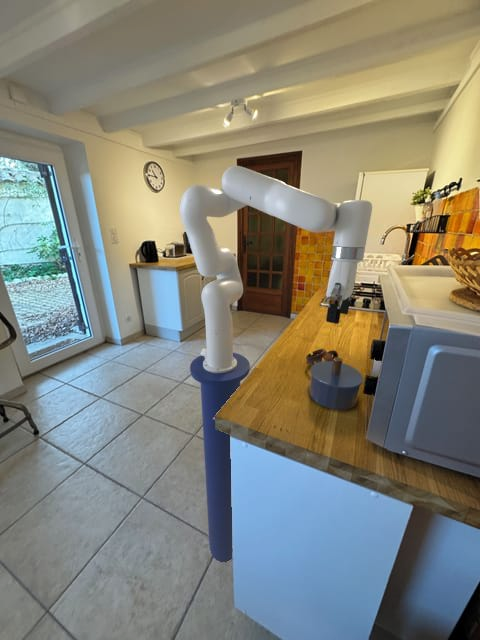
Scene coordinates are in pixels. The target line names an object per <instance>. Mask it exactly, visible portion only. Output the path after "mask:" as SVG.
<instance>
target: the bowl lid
mask: <svg viewBox="0 0 480 640" xmlns="http://www.w3.org/2000/svg"><path fill="white" fill-rule="evenodd" d="M343 362H344V361H343V358H342V357H339V356H338V357H335V358H334V359H333V361H325V360H322V361H321V362H318V363H316V362H314V363H313V365H312V366H311V367H310V370H309V371H310V372H309V373H310V376H311V375H312V377H313V378H314V379H315V380H317V381H318V382H320V383H322V384H324V385H326V386H329V387H332V388H337V389H353V388H356V387H359V386H360V387H361V386H362V384H363V381H364V376H363V375H362V373H361V372H360V371H359V370H358V369H356V368H355V367H353V366H351V365H349V364H347V363H343ZM360 387H359V388H360Z"/></svg>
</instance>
